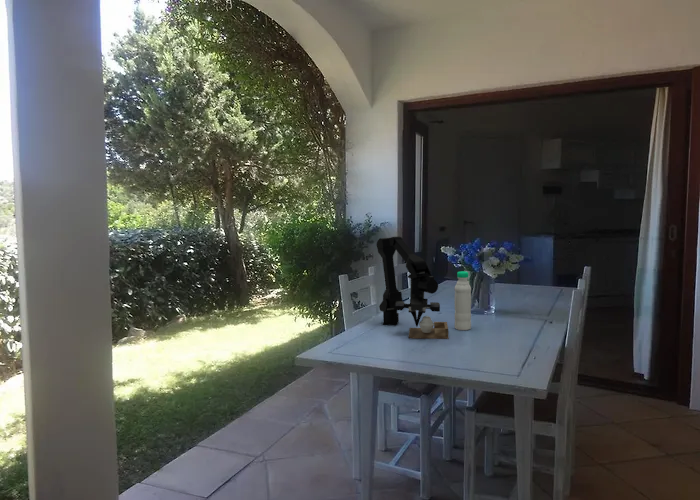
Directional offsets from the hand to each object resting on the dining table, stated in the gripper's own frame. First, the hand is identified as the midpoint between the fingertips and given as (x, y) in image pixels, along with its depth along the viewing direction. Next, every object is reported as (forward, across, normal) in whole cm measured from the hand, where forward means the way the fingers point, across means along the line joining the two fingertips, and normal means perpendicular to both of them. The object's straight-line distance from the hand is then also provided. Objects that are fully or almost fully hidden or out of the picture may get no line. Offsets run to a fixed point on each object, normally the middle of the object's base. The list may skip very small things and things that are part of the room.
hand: (416, 326), depth 206 cm
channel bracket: (+3, +5, 0) cm, 6 cm away
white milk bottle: (+3, +20, +10) cm, 22 cm away
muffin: (+2, +4, 0) cm, 5 cm away
